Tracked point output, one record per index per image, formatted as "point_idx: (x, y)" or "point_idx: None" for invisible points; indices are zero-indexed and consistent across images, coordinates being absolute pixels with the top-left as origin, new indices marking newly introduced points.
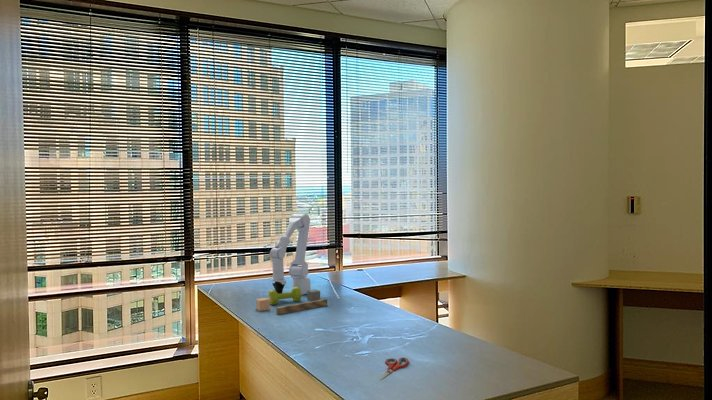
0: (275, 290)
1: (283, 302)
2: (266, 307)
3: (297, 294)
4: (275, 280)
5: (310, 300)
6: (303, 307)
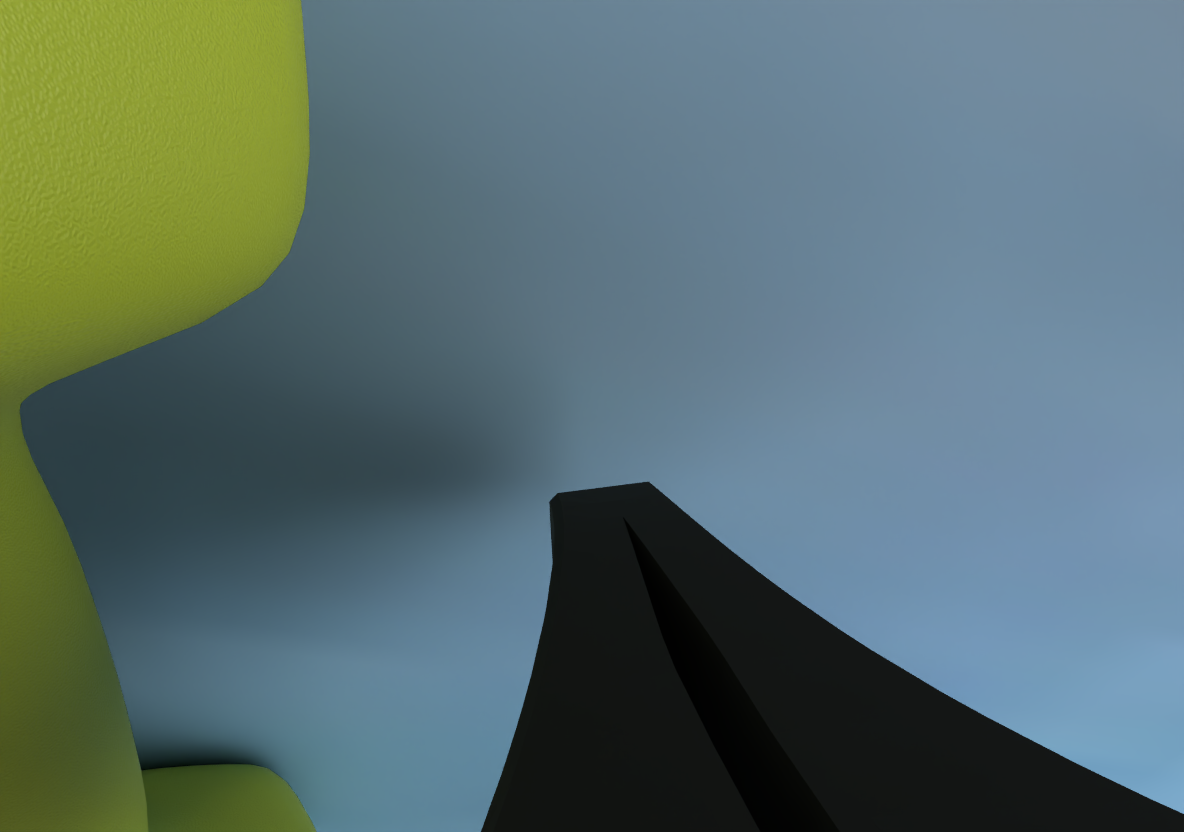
0: (796, 621)
1: (94, 485)
2: None
3: None
4: None
5: None
6: None
